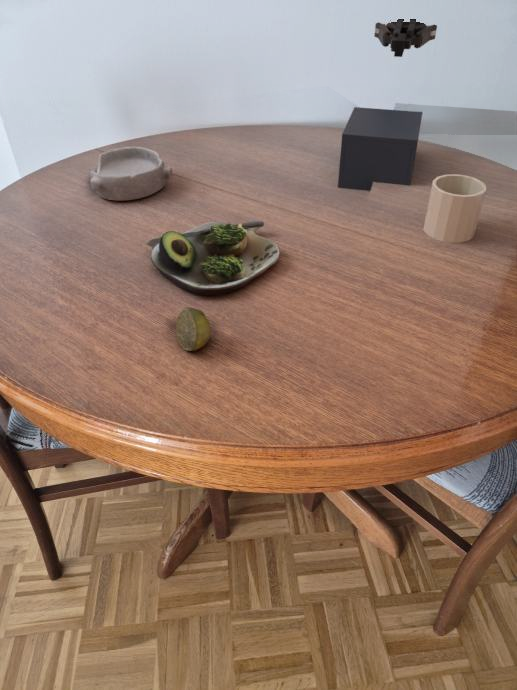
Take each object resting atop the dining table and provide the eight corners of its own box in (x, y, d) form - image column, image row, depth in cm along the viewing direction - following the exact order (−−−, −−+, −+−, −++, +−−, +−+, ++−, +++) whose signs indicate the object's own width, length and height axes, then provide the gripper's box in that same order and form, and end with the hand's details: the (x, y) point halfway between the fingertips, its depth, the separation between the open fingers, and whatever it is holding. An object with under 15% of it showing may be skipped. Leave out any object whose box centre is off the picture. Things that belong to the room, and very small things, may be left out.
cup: (470, 231, 86) (485, 176, 80) (471, 255, 80) (487, 198, 74) (422, 226, 87) (433, 172, 81) (420, 249, 82) (431, 193, 76)
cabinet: (349, 156, 109) (354, 107, 103) (413, 162, 106) (422, 111, 100) (337, 187, 99) (342, 133, 92) (408, 194, 96) (418, 140, 90)
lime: (202, 360, 64) (198, 327, 60) (167, 349, 65) (161, 317, 62) (219, 337, 67) (217, 305, 64) (185, 328, 68) (181, 296, 65)
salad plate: (228, 215, 91) (227, 189, 88) (308, 254, 81) (309, 226, 78) (132, 259, 81) (127, 231, 78) (210, 310, 71) (207, 280, 68)
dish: (96, 209, 93) (90, 181, 90) (88, 177, 103) (82, 151, 100) (179, 196, 97) (175, 168, 94) (163, 166, 107) (160, 141, 104)
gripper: (434, 44, 121) (430, 72, 104) (375, 41, 124) (362, 68, 106) (441, 4, 116) (438, 27, 99) (379, 3, 119) (366, 24, 101)
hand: (399, 48), depth 102 cm, fingers closed
